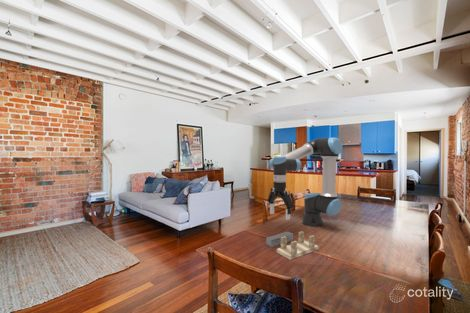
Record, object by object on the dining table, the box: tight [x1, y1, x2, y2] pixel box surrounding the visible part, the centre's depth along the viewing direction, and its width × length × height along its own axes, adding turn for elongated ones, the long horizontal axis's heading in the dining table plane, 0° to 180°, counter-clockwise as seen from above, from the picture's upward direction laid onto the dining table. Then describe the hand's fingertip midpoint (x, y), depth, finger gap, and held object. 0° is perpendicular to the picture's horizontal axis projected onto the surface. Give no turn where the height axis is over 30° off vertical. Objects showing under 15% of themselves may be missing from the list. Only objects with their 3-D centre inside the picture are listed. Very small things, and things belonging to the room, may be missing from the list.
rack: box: [276, 230, 319, 261], centre depth 124 cm, size 22×10×8 cm, turn 122°
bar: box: [265, 231, 294, 248], centre depth 136 cm, size 18×4×4 cm, turn 123°
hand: (279, 216), depth 136 cm, fingers open, 13 cm apart
